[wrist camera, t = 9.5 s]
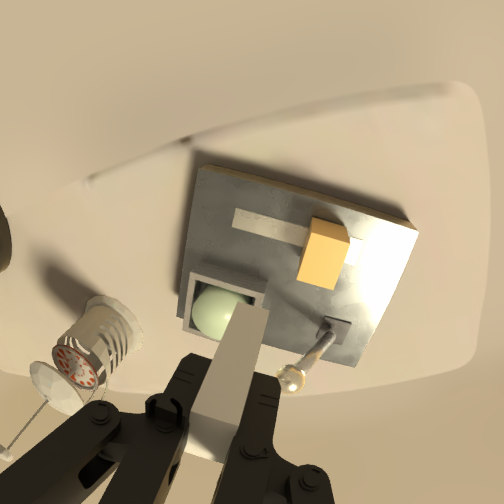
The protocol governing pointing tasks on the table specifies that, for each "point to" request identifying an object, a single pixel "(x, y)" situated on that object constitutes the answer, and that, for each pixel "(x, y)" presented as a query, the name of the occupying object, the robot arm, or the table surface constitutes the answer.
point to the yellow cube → (323, 253)
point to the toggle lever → (303, 365)
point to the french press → (85, 357)
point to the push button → (216, 309)
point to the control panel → (290, 260)
